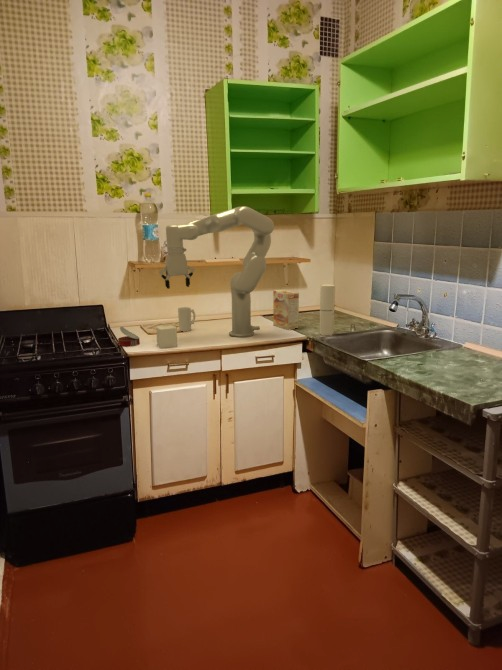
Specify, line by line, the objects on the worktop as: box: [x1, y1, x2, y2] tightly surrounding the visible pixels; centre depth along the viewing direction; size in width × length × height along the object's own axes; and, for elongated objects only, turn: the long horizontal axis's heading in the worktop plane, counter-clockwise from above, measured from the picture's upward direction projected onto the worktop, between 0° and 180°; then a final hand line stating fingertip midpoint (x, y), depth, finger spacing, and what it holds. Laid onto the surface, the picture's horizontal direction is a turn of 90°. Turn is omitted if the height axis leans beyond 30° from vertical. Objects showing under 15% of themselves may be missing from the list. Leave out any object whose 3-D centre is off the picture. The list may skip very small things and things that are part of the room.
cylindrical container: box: [318, 283, 336, 336], centre depth 258 cm, size 7×7×25 cm
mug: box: [177, 306, 196, 333], centre depth 271 cm, size 10×7×12 cm, turn 130°
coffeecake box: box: [272, 289, 300, 331], centre depth 276 cm, size 15×7×20 cm, turn 30°
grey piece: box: [155, 324, 178, 349], centre depth 238 cm, size 8×8×9 cm
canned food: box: [117, 326, 141, 348], centre depth 242 cm, size 11×10×10 cm
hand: (178, 287), depth 246 cm, fingers open, 9 cm apart
